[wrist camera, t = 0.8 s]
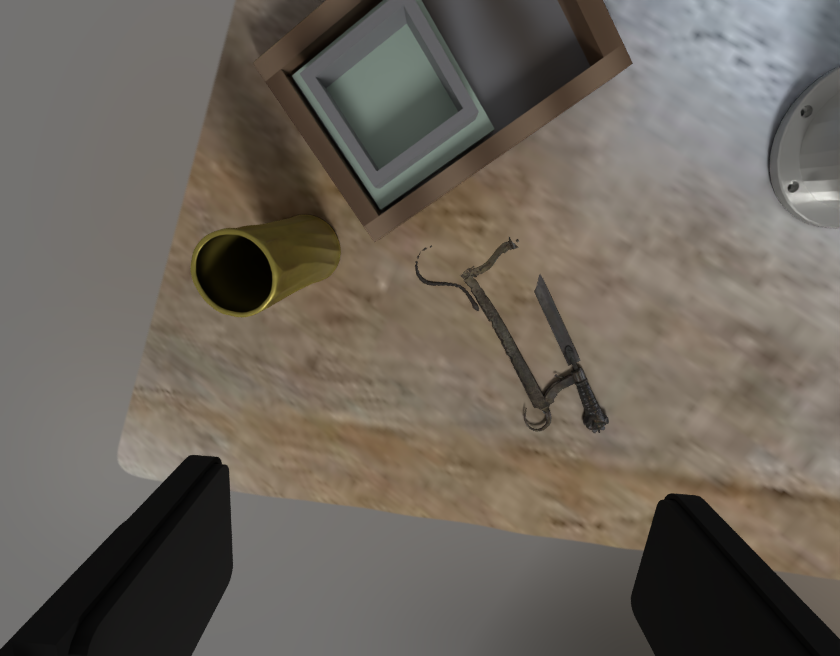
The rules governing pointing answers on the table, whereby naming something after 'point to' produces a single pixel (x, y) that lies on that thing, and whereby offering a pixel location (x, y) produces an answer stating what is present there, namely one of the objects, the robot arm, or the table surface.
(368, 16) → the square serving tray
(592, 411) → the hacksaw
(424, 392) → the table surface
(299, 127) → the open wooden box
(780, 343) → the table surface
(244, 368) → the table surface
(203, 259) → the vase
